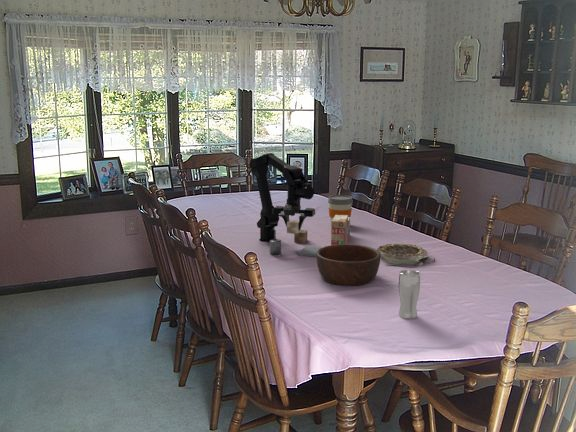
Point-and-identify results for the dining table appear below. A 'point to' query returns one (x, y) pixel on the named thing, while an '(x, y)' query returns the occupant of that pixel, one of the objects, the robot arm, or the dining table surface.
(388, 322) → the dining table surface
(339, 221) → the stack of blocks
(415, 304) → the beer glass
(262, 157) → the robot arm
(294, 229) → the ash block
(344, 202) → the reusable coffee cup
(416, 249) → the pie
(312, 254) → the slate mat
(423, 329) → the dining table surface
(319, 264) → the wooden bowl
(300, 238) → the rectangular block
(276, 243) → the dark metal cylinder
